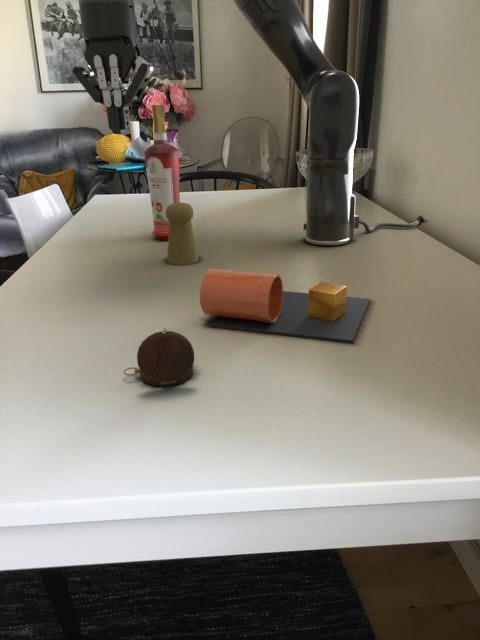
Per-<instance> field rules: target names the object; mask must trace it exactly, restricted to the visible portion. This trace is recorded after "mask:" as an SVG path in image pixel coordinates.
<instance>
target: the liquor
mask: <svg viewBox="0 0 480 640" xmlns="http://www.w3.org/2000/svg"><path fill="white" fill-rule="evenodd" d="M150 106H151V115H152V120H153V144H151V145H150V146H148V147H146V149H145V150H144V151H143V154H144V162H145V170H146V178H147V184H148V190H149V191H148V192H149V198H150V204H151V212H152V222H153V231H152V235H154V236H155V237H156V238H157V239H159V240H161V241H169V220H168V219H167V217H166V209H167V207H168V206H169V205H171V204H174V203H181V200H180V199H181V198H180V196H181V195H180V193H181V192H180V153H179V152H180V150H179V149H178V148H177V147H176V146H175V145H173V144H170V143H169V140H168V136H167V135H168V134H167V130H166V129H167V128H166V122H165V115H166V110H165V109H166V108H165V104H151V105H150Z"/></svg>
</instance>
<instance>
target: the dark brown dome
mask: <svg viewBox="0 0 480 640" xmlns="http://www.w3.org/2000/svg"><path fill="white" fill-rule="evenodd" d="M136 361H137V366H138V367H127V368H125V369H124V370H123V371H122V372H123V374H124V375H126V376H128V377H129V376H136V375H138V374H139V375H140V378H141V379H142V381H144V382H146V383H147V384H150V385H154V386H173V385H176V384H180V383H182V382H184V381H186V380H188V379H189V378H190V377H191V376H192V375H193V373H194V362H195V350H194V347H193V345H192V342H191V341H190V340H189V339H188V338H187V337H186V336H185V335H183V334H181V333H179V332H176V331H172V330H167V329H166V328H165V327H164V328H163V330H162V331H157V332H154V333H152V334H149V335H148V336H147V337H146V338H145V339H144V340H142V341H141V343H140V344H139V346H138V349H137V352H136ZM133 369H134V373H126V371H128V370H133Z"/></svg>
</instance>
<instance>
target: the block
mask: <svg viewBox="0 0 480 640" xmlns="http://www.w3.org/2000/svg"><path fill="white" fill-rule="evenodd" d="M347 290H348V285H342V284H336V283H331V282H326V281H325V282H324V281H321V282H319V283H318V284H316V285H314V286H313V287H311V288H309V289H308V293H309V306H308V316H311V317H316V318H321V319H325V320H330V321H335V320H336V319H337V318H339V317H340V316H341V315H343V314H344V313H345V312H346V297H347V292H348V291H347Z"/></svg>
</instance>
